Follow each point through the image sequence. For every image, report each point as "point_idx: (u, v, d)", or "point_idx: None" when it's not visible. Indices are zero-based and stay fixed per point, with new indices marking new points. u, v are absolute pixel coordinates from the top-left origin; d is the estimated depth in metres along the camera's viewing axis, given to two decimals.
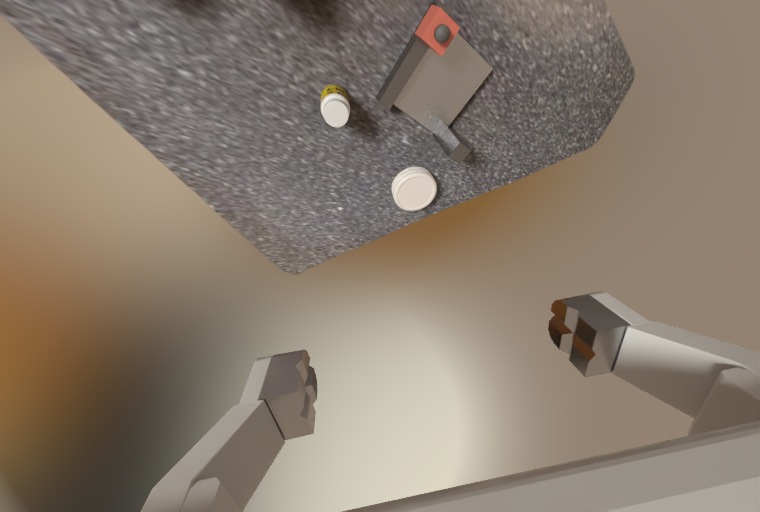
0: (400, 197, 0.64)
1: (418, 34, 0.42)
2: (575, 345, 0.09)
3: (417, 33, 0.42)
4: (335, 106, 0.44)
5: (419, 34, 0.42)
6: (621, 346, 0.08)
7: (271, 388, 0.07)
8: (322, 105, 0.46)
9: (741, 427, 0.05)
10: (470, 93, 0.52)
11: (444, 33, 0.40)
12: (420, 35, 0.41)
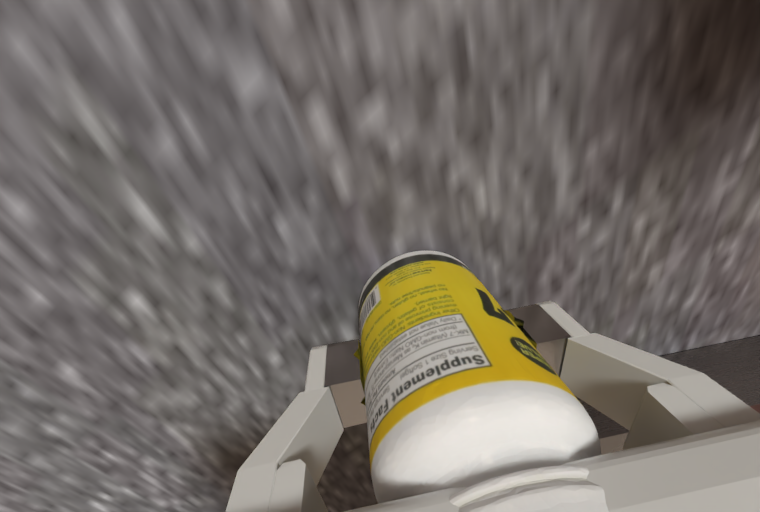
0: None
1: None
2: None
3: None
4: None
5: None
6: (563, 358, 0.08)
7: (335, 376, 0.08)
8: (469, 426, 0.05)
9: (741, 427, 0.05)
10: None
11: None
12: None
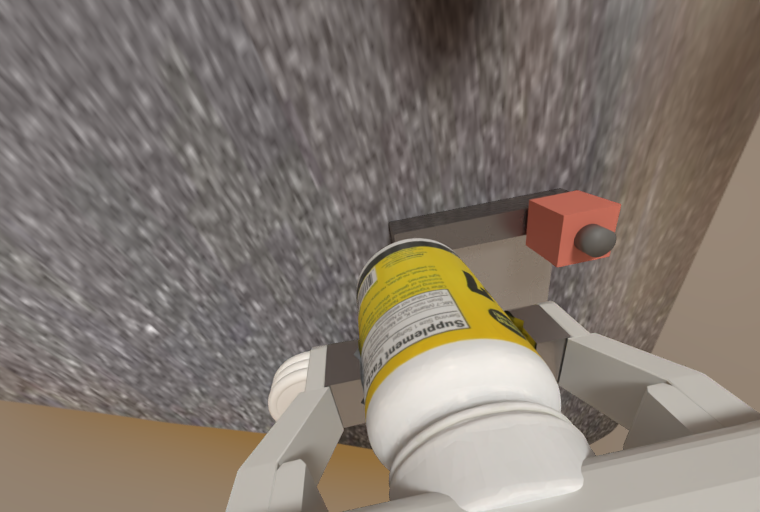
0: (285, 396, 0.29)
1: (547, 206, 0.21)
2: None
3: (541, 203, 0.22)
4: None
5: (551, 207, 0.21)
6: (563, 358, 0.08)
7: (334, 376, 0.07)
8: (448, 373, 0.06)
9: (741, 427, 0.05)
10: None
11: (603, 244, 0.19)
12: (557, 210, 0.20)
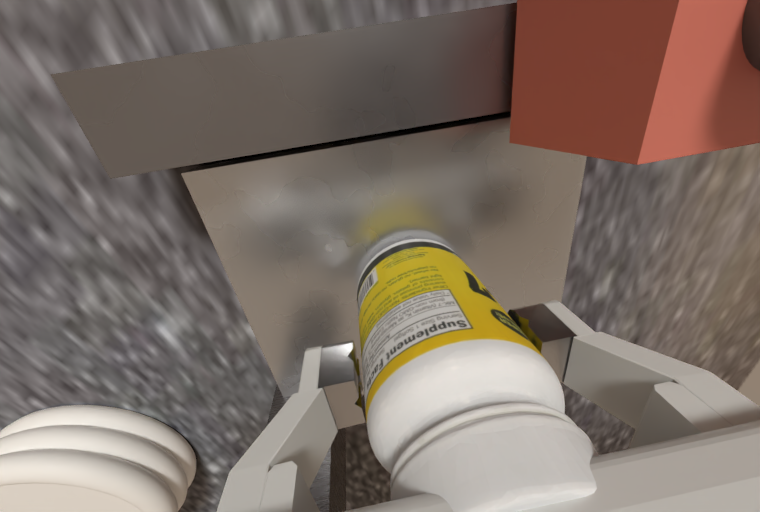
0: None
1: None
2: None
3: None
4: None
5: None
6: (569, 357, 0.08)
7: (328, 378, 0.07)
8: (451, 373, 0.06)
9: (741, 427, 0.05)
10: None
11: None
12: None
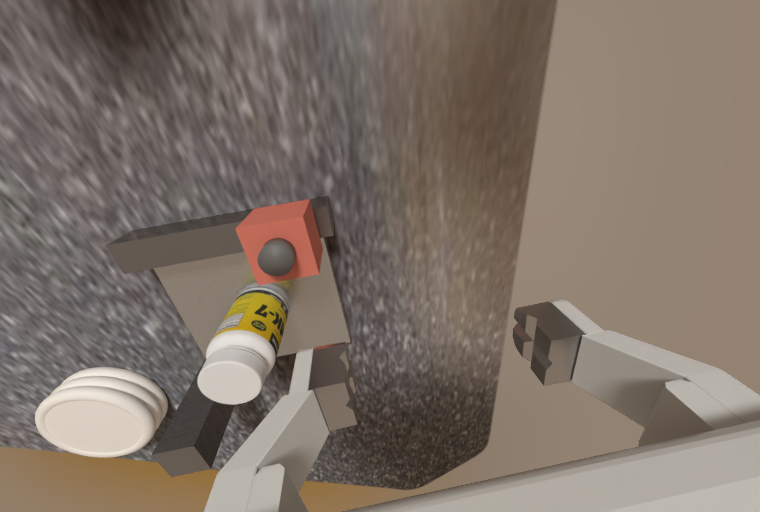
0: (51, 418, 0.27)
1: (248, 217, 0.19)
2: (535, 353, 0.09)
3: (251, 213, 0.19)
4: (241, 374, 0.18)
5: (247, 219, 0.18)
6: (577, 355, 0.08)
7: (319, 379, 0.07)
8: (222, 339, 0.19)
9: (741, 427, 0.05)
10: (300, 347, 0.29)
11: (278, 261, 0.17)
12: (244, 222, 0.18)
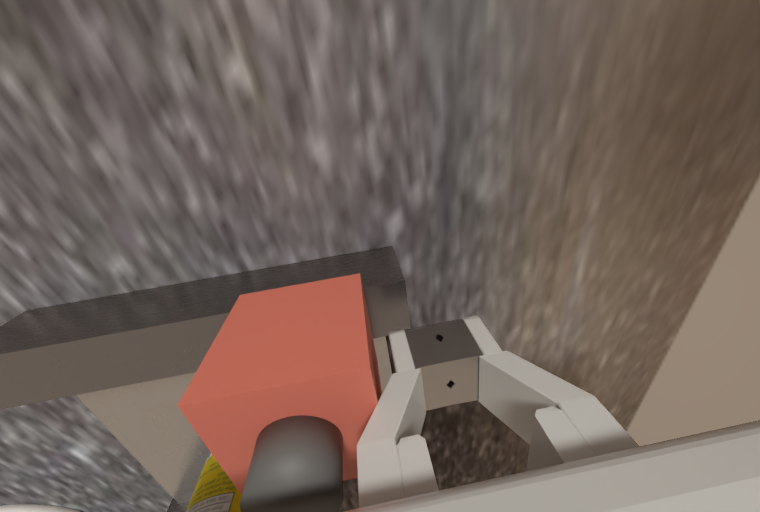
0: None
1: (223, 334, 0.08)
2: None
3: (233, 318, 0.08)
4: None
5: (219, 345, 0.07)
6: (479, 375, 0.08)
7: (423, 358, 0.08)
8: None
9: (741, 427, 0.05)
10: None
11: (301, 503, 0.06)
12: (207, 365, 0.07)
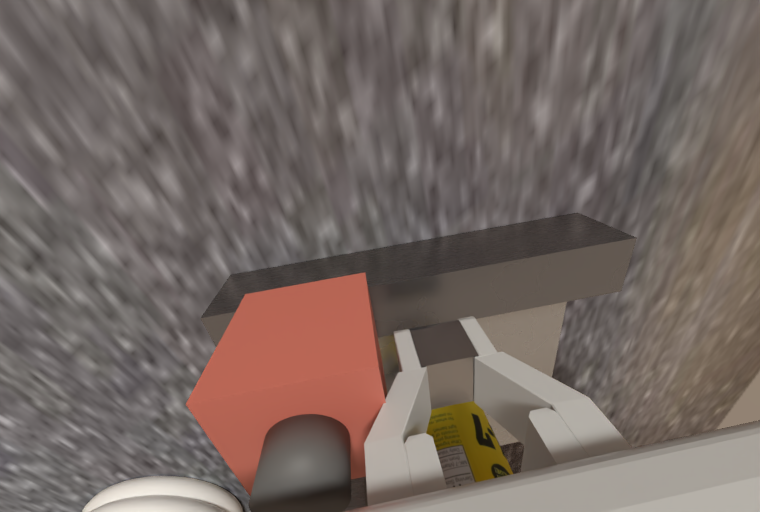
0: None
1: (229, 333, 0.08)
2: None
3: (239, 317, 0.08)
4: None
5: (226, 344, 0.07)
6: (474, 376, 0.08)
7: (428, 358, 0.08)
8: None
9: (741, 427, 0.05)
10: None
11: (310, 501, 0.06)
12: (215, 364, 0.07)
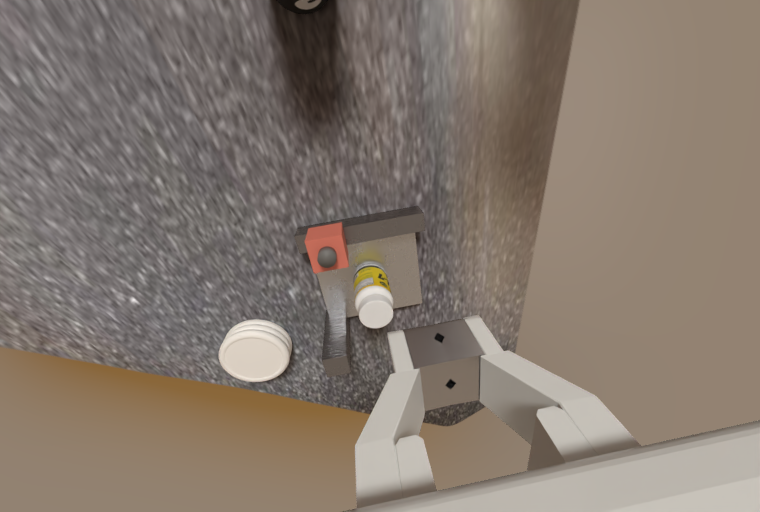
0: (230, 350, 0.41)
1: (308, 234, 0.32)
2: None
3: (309, 231, 0.33)
4: (384, 308, 0.32)
5: (308, 235, 0.32)
6: (480, 375, 0.08)
7: (422, 359, 0.08)
8: (368, 290, 0.34)
9: (741, 427, 0.05)
10: None
11: (328, 259, 0.30)
12: (307, 237, 0.31)
